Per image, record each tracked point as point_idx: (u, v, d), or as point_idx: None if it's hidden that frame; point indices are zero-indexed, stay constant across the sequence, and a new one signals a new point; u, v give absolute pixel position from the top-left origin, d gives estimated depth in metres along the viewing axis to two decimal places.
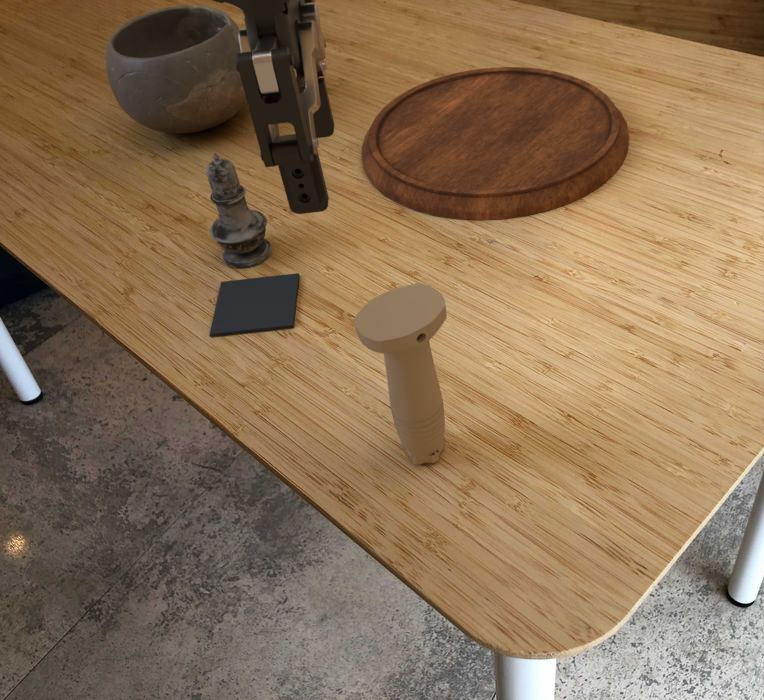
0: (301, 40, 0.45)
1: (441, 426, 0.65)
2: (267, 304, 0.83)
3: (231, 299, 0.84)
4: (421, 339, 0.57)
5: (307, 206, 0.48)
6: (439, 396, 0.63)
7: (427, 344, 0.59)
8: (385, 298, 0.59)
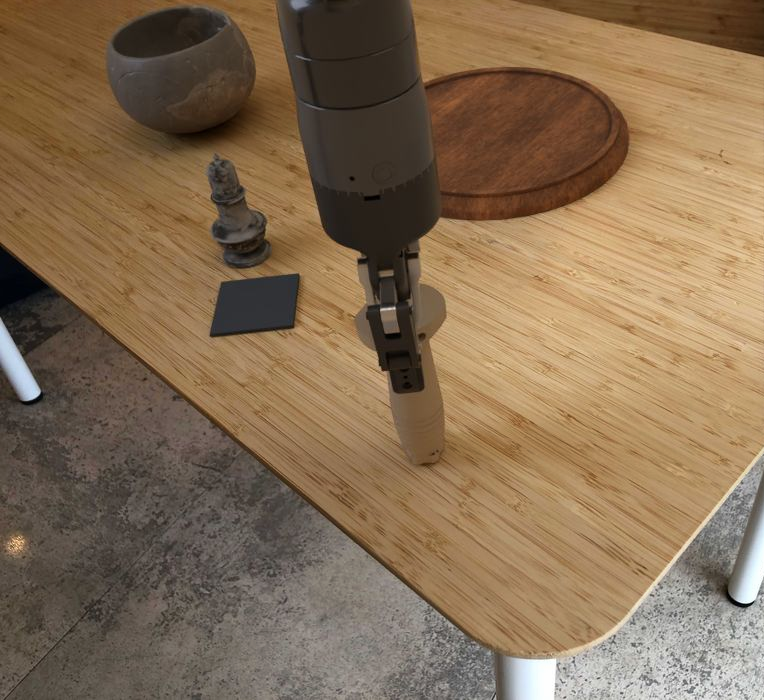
0: (409, 269, 0.53)
1: (441, 426, 0.65)
2: (267, 304, 0.83)
3: (231, 299, 0.84)
4: (421, 339, 0.57)
5: (408, 390, 0.58)
6: (439, 396, 0.63)
7: (427, 344, 0.59)
8: None
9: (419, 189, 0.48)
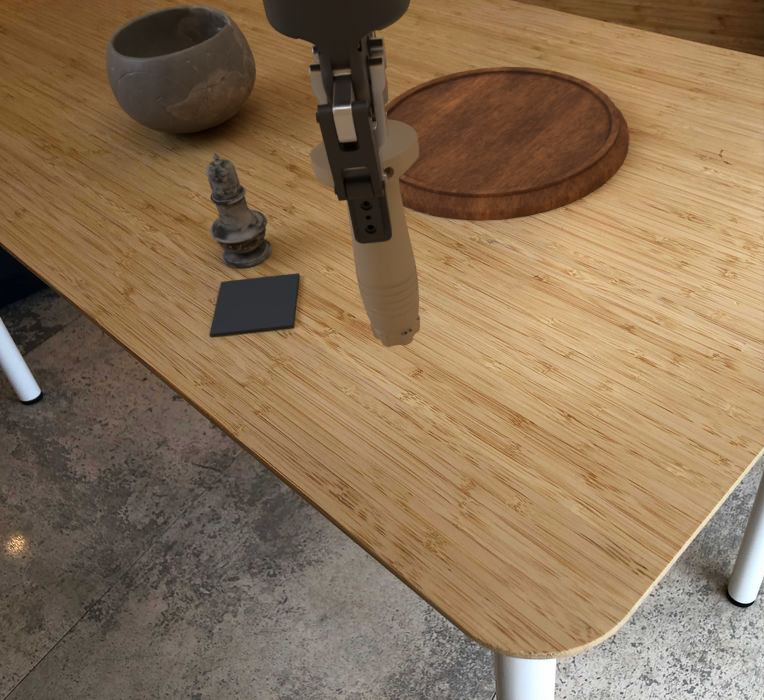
0: (371, 76, 0.45)
1: (414, 298, 0.57)
2: (267, 304, 0.83)
3: (231, 299, 0.84)
4: (388, 176, 0.49)
5: (372, 237, 0.49)
6: (412, 259, 0.55)
7: (396, 188, 0.51)
8: None
9: None
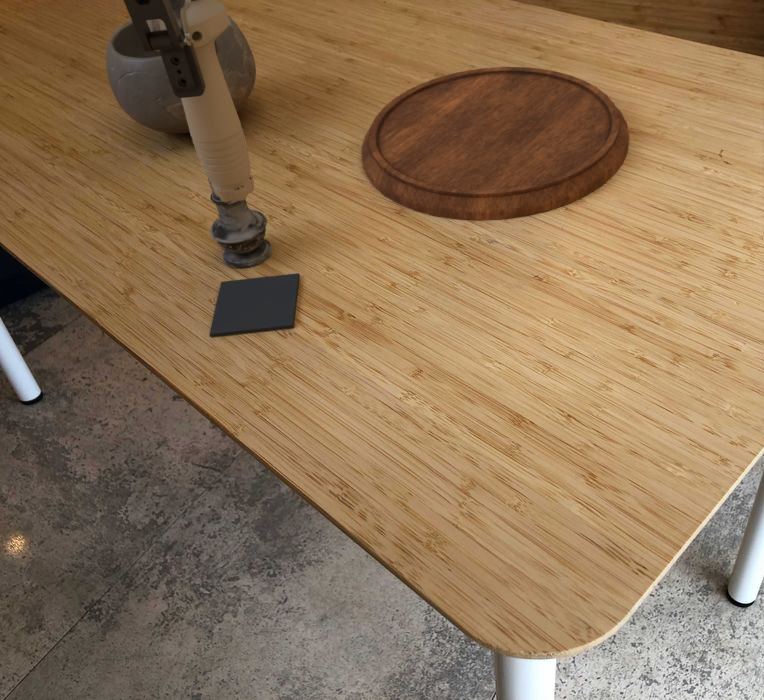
0: None
1: (241, 157, 0.68)
2: (267, 304, 0.83)
3: (231, 299, 0.84)
4: (198, 40, 0.60)
5: (186, 90, 0.60)
6: (235, 120, 0.66)
7: (211, 54, 0.62)
8: None
9: None
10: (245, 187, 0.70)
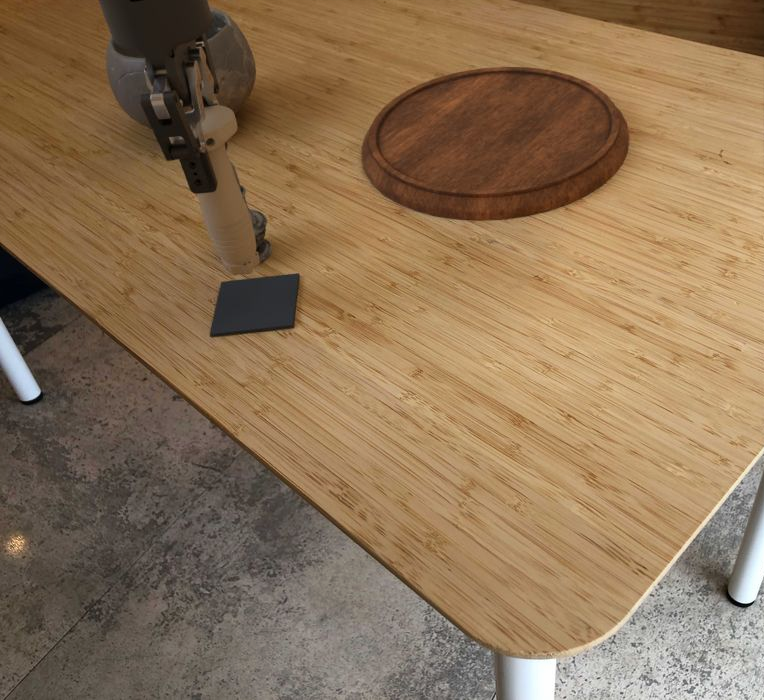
0: (187, 74, 0.65)
1: (248, 237, 0.77)
2: (267, 304, 0.83)
3: (231, 299, 0.84)
4: (212, 145, 0.69)
5: (201, 188, 0.70)
6: (242, 207, 0.75)
7: (222, 154, 0.71)
8: None
9: None
10: (251, 262, 0.79)
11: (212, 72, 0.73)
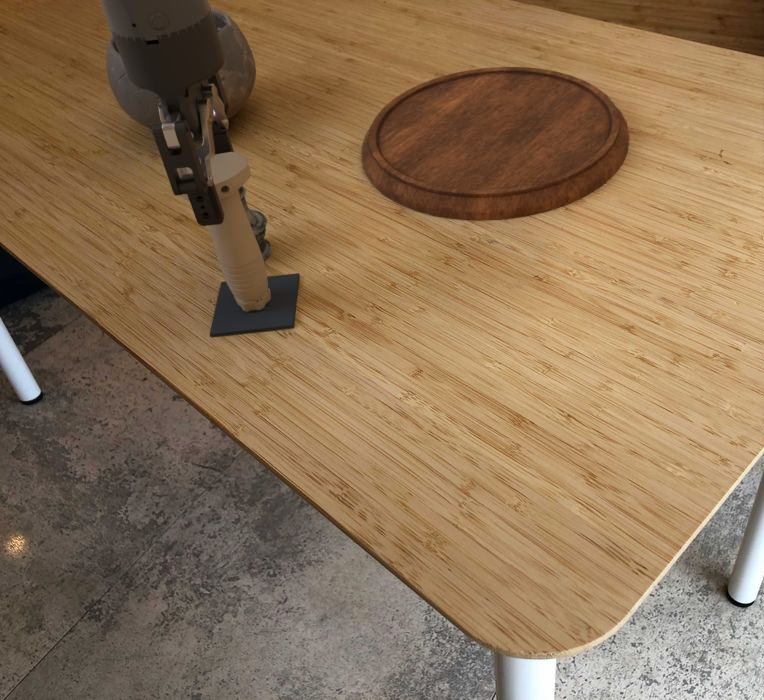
0: (200, 111, 0.67)
1: (260, 276, 0.80)
2: (267, 304, 0.83)
3: (231, 299, 0.84)
4: (226, 191, 0.72)
5: (208, 221, 0.70)
6: (255, 248, 0.78)
7: (236, 199, 0.75)
8: None
9: (192, 38, 0.63)
10: (263, 299, 0.82)
11: (222, 94, 0.75)
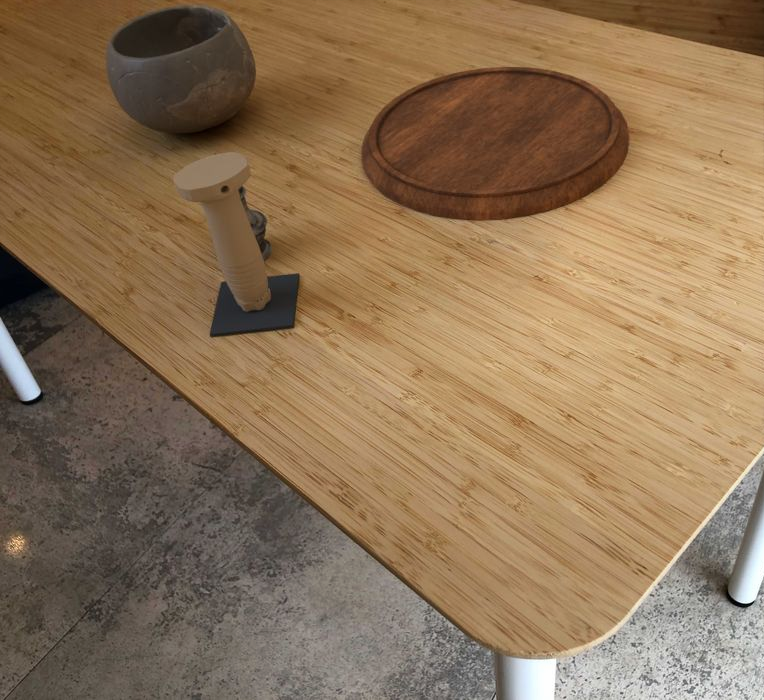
0: None
1: (260, 276, 0.80)
2: (267, 304, 0.83)
3: (231, 299, 0.84)
4: (226, 191, 0.72)
5: None
6: (255, 248, 0.78)
7: (236, 199, 0.75)
8: (202, 162, 0.74)
9: None
10: (263, 299, 0.82)
11: None
